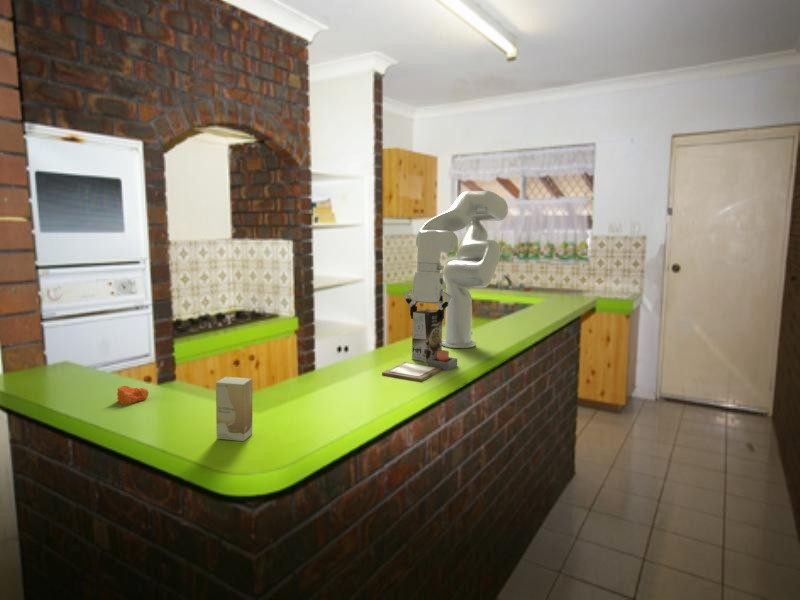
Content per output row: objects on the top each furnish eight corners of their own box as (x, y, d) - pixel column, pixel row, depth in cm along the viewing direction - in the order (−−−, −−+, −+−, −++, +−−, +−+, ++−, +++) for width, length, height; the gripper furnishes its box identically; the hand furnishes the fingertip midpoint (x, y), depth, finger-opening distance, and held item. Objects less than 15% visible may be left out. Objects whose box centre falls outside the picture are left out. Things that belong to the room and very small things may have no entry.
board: (404, 364, 168) (404, 361, 168) (441, 370, 162) (441, 367, 162) (382, 374, 156) (382, 371, 156) (421, 381, 150) (421, 378, 150)
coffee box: (427, 362, 171) (428, 313, 169) (411, 359, 175) (411, 311, 172) (442, 357, 178) (443, 310, 176) (426, 354, 182) (427, 308, 180)
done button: (440, 359, 168) (440, 349, 168) (450, 361, 166) (450, 351, 166) (435, 361, 165) (435, 352, 165) (445, 363, 163) (445, 353, 163)
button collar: (437, 362, 171) (437, 355, 170) (457, 365, 167) (457, 358, 167) (427, 367, 165) (427, 360, 164) (448, 370, 161) (448, 363, 161)
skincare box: (215, 439, 108) (213, 382, 106) (226, 431, 112) (224, 375, 111) (245, 441, 107) (243, 383, 105) (254, 433, 111) (252, 377, 110)
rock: (170, 401, 133) (169, 384, 132) (121, 415, 123) (120, 397, 122) (143, 392, 140) (142, 376, 139) (94, 404, 129) (93, 387, 129)
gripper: (457, 269, 171) (455, 321, 173) (410, 266, 179) (409, 316, 181) (448, 270, 165) (445, 324, 167) (399, 267, 173) (398, 318, 175)
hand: (426, 319), depth 174 cm, fingers open, 9 cm apart
